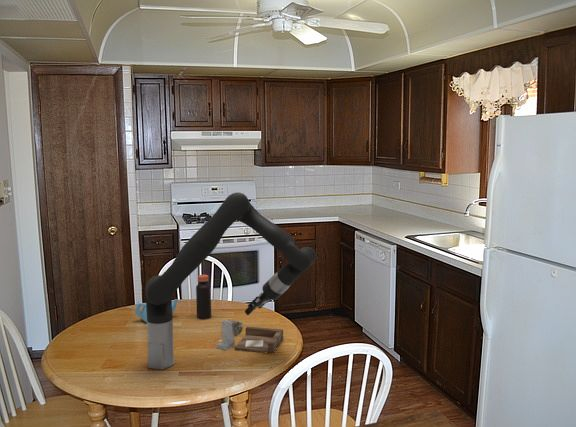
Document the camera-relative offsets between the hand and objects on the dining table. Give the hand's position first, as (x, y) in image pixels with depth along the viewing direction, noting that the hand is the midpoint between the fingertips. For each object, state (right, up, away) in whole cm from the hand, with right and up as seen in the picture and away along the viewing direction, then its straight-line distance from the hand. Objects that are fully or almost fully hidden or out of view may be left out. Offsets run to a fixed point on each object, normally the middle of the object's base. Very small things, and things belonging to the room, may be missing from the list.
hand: (252, 309), depth 204 cm
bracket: (-11, -16, +6) cm, 21 cm away
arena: (+2, -16, +9) cm, 18 cm away
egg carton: (-10, -14, +23) cm, 29 cm away
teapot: (-47, -12, +38) cm, 62 cm away
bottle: (-26, -11, +41) cm, 50 cm away
